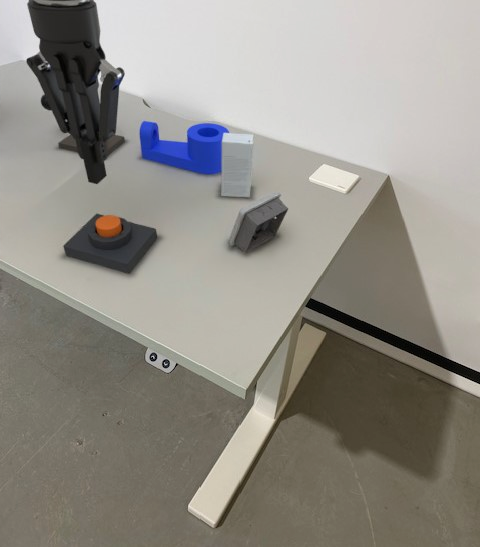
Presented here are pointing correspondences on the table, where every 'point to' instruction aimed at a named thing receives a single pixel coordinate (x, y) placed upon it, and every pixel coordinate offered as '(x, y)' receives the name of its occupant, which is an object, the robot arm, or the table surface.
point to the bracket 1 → (110, 144)
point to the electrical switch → (258, 222)
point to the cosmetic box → (236, 164)
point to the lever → (45, 103)
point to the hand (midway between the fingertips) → (97, 178)
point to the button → (108, 226)
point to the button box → (111, 245)
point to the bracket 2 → (185, 147)
